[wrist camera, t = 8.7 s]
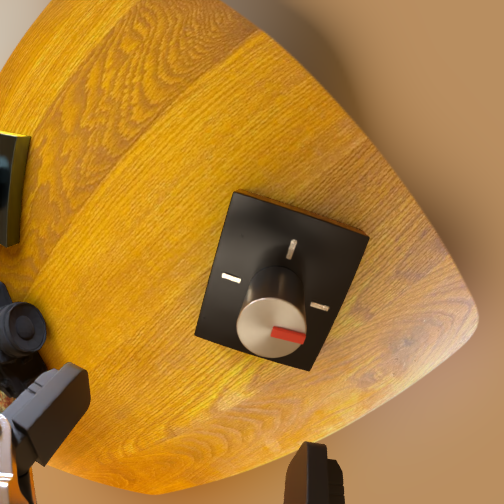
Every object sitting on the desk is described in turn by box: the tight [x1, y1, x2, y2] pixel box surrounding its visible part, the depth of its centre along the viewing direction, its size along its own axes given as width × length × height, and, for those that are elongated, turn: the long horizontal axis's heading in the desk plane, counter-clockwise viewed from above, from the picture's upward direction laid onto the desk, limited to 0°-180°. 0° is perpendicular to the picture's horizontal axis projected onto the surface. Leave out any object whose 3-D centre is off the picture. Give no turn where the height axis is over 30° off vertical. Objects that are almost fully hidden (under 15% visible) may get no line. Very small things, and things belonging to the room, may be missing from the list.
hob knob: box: [236, 266, 307, 358], centre depth 20 cm, size 4×4×6 cm
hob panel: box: [194, 189, 370, 371], centre depth 24 cm, size 12×10×3 cm
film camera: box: [0, 282, 47, 398], centre depth 26 cm, size 15×10×9 cm, turn 19°
